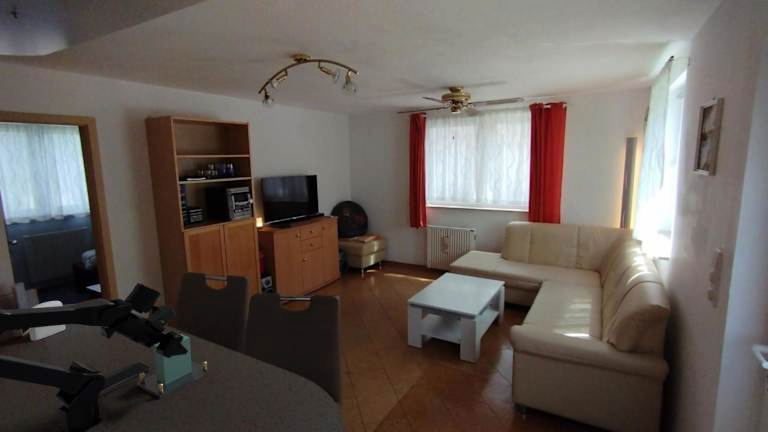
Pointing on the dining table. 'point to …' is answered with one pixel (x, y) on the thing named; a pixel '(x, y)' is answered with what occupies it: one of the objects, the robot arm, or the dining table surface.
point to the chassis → (163, 390)
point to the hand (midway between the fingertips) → (177, 348)
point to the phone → (123, 376)
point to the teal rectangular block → (173, 364)
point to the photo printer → (49, 330)
